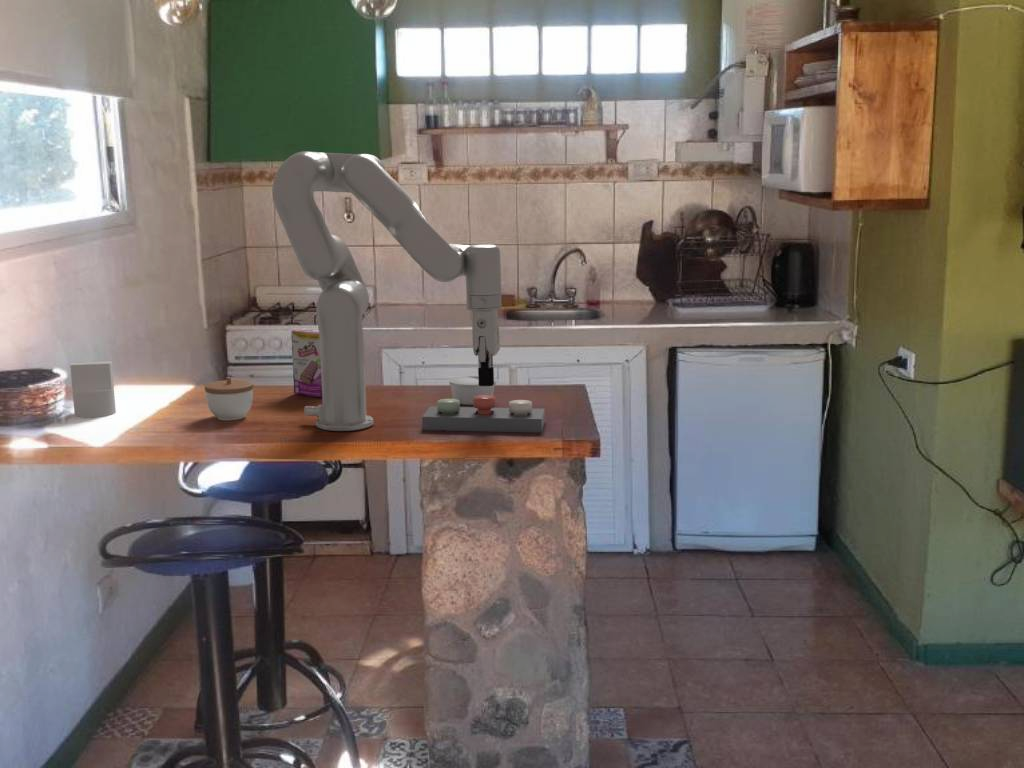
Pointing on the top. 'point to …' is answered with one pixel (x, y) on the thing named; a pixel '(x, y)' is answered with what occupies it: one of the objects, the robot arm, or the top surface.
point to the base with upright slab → (93, 389)
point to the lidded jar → (229, 398)
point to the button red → (484, 404)
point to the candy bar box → (306, 362)
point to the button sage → (448, 406)
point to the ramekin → (469, 389)
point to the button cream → (520, 407)
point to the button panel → (484, 420)
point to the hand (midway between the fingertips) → (486, 385)
